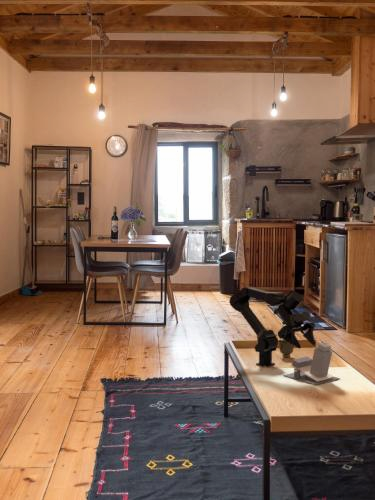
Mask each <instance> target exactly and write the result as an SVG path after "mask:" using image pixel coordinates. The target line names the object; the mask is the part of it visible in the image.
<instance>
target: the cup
mask: <svg viewBox="0 0 375 500" xmlns="http://www.w3.org/2000/svg"><path fill="white" fill-rule="evenodd" d="M278 346H279V351H280V353H281V354H282V357H283V358H284V359H288V357H289V358H290V357H291V354H292V353H293V351H294V347H295V346H294V345H293V344H291V343H289V342H287V341H286V340H283V339H278Z"/></svg>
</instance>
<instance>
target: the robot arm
mask: <svg viewBox="0 0 375 500" xmlns="http://www.w3.org/2000/svg"><path fill="white" fill-rule="evenodd" d="M251 298H255V299H258V300H261V301H264V302H265V303H266V304H268V305H269V306H271V307H274V306H275V308H274V310H273V315H275V316H276V315H279V317H280V319H281V320H282V323H281V324H282V325H283V326H282V327H281V328H280V329H279V330H278V331H277V334H275V332H274V330H273V329H267V328H266V327H265V326H264V325H263V324H262V321H260V320H259V318H258V317H257V315H256V314H255V313H254V311H253V310H252V308H251V307H250V300H251ZM303 301H304V297H303V296H302V294H300V293H299V292H298V291H297V292H296V290H294V289H291V290H290V291H289V292H288V294H287V295H286V294H285V293H284V292H283V291H268V290H264V289H259V288H256V287H253V286H243V287H242V288H241V289H240V290H239V291H237V292H235V293H234V294H233V295H231V296H230V298H229V302H228V303H229V305H230V307H232V309H233V310H235V311H237V313H240V314H241V316H242V317H243V319H245V320H246V322H247V324H248V325H249V326H250V327H251V329H252V330H253V332H254V333H255V334H256V339H257V341H256V342H257V344H255V346H254V351H255V352H257V353H258V362H257V363H255V365H256V366H262V367H272V366H274V365H276V363H275V362H273V352H275V351H276V350H277V348H278V346H279V340H285V341H287V342H289V343H291V344H293V345H294V347H296V348H297V349H301V347H302V346H301V344H300V342H299V340H298V338H297V337H296V333H298V332H300V333H301V334H302V336H303V337H304V339H306V340H307V341H308V342H309V343H310V344H311V345H312V346H314V347H315V345H316V340H315V336H314V330H315V328H316V327H317V326H316V324H315V322H314V321H310V320H311V319H310V318H311V317H312V314H311V313H310V312H309V311H308V310H305V311H303V312H302V313H294V311H295V310H296V309H297V308H298V307H299V306H300V305H301V304H302V303H303ZM276 306H278V307H276ZM306 321H309V322H306Z"/></svg>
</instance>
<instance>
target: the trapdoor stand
mask: <svg viewBox="0 0 375 500" xmlns="http://www.w3.org/2000/svg"><path fill="white" fill-rule="evenodd" d="M283 377H285V378H288V379H292V380H295V381H299V382H303V383H305V384H310V385H313V386H320V385H323V384H327V383H331V382H335V381H338V380H340V379H341V378H339V377H336V376H333V378H330V379H326V380H323V381H319V382H317V381H315V380H314V379H312V378H310V377H308V376H307V375H305V374H303V373H301V372H300V369H297V368H293V372H292V373H287V374H283Z"/></svg>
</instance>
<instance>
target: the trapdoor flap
mask: <svg viewBox="0 0 375 500" xmlns="http://www.w3.org/2000/svg"><path fill="white" fill-rule="evenodd" d="M312 359H313V358H310V357H309V356H303V357H299V358H294V359H292V361H291V362H292V363H291V365H290V367H291V368H293V369H295V368H297V369H300V372H301V373H303V374H305V375H307V376H308V377H310V378H312V379H314V380H315V381H317V382H319V381H323V380H326V379H330V378H333V377H334V375H331V374H330V373H328V374H327V376H326V377H322V378H318V377H316V376H314V375H313V374H311V373H310V369H311V364H312Z"/></svg>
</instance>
